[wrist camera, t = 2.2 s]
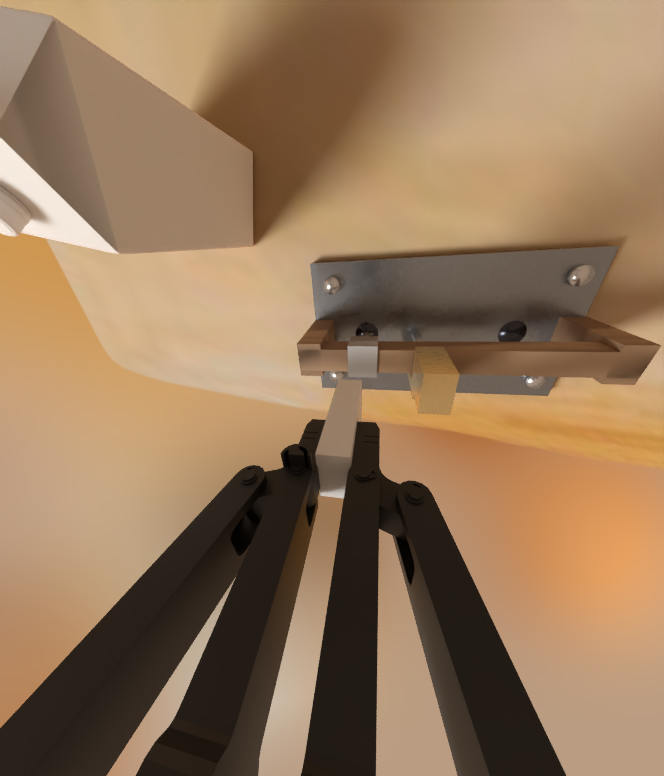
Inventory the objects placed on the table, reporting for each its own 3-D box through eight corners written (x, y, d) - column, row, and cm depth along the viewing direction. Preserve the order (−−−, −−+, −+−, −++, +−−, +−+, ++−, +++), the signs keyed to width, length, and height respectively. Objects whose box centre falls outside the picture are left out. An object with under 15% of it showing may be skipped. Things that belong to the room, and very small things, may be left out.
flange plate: (312, 262, 24) (308, 264, 23) (609, 245, 20) (625, 246, 18) (323, 383, 31) (321, 389, 30) (542, 390, 27) (551, 398, 26)
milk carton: (176, 136, 21) (-485, -193, 5) (254, 151, 20) (-189, -152, 5) (188, 232, 25) (-160, 222, 9) (254, 247, 24) (15, 262, 8)
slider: (407, 320, 24) (423, 373, 15) (428, 320, 24) (459, 374, 14) (403, 354, 26) (416, 421, 16) (423, 355, 26) (448, 423, 16)
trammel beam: (315, 320, 26) (296, 344, 20) (585, 316, 22) (664, 346, 16) (318, 346, 28) (300, 376, 22) (570, 348, 23) (637, 386, 17)
